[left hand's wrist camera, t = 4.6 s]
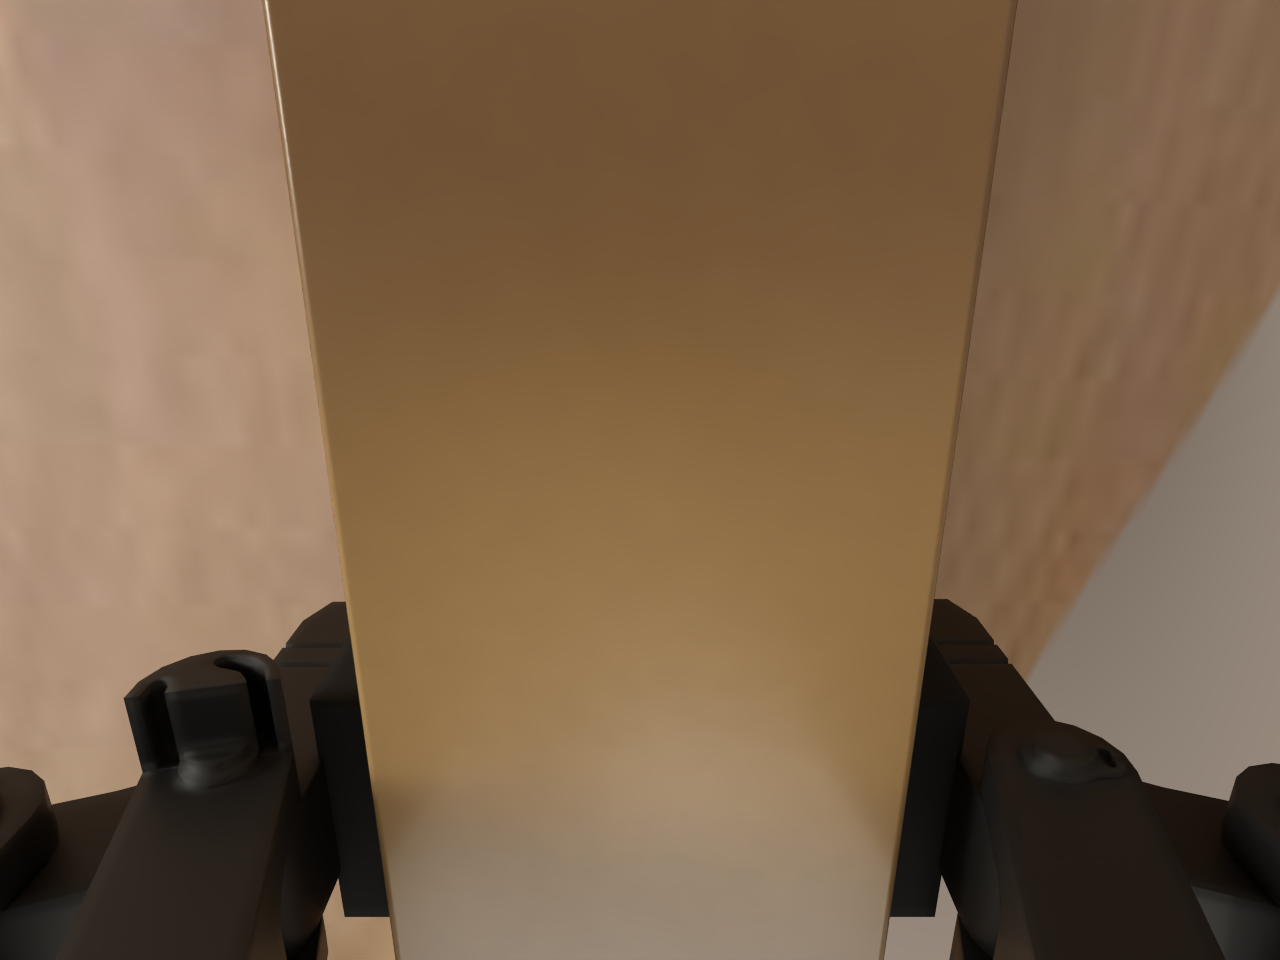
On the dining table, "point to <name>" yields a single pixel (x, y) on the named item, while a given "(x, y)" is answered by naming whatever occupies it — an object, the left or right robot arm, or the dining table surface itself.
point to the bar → (639, 445)
